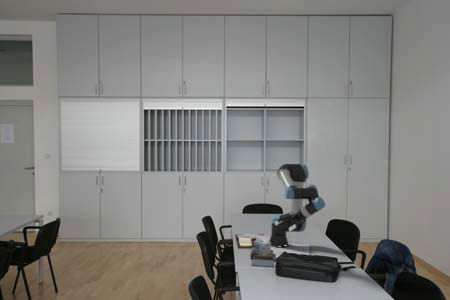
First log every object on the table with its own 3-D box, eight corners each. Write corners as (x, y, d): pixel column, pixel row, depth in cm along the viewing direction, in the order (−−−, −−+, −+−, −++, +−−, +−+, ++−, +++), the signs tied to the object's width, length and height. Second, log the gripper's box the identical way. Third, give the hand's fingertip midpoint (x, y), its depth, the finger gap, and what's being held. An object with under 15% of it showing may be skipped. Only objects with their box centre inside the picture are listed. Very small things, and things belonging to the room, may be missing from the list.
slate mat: (252, 259, 237) (252, 258, 237) (272, 261, 235) (272, 260, 235) (251, 265, 225) (251, 264, 225) (272, 267, 223) (272, 266, 223)
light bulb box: (253, 255, 246) (253, 240, 246) (259, 253, 251) (259, 238, 251) (265, 259, 238) (265, 243, 238) (271, 257, 243) (271, 242, 243)
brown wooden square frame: (251, 252, 253) (251, 246, 253) (273, 253, 251) (273, 248, 251) (250, 259, 238) (250, 253, 238) (273, 260, 236) (273, 254, 236)
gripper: (292, 211, 224) (270, 226, 236) (318, 223, 235) (295, 236, 247) (290, 201, 229) (268, 216, 241) (316, 214, 241) (294, 227, 252)
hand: (282, 226), depth 244 cm, fingers open, 13 cm apart
